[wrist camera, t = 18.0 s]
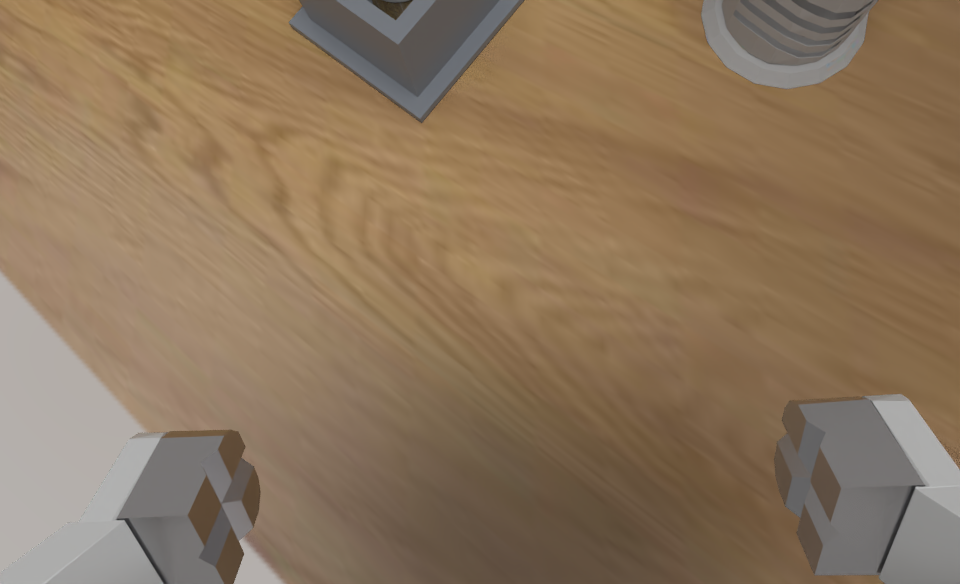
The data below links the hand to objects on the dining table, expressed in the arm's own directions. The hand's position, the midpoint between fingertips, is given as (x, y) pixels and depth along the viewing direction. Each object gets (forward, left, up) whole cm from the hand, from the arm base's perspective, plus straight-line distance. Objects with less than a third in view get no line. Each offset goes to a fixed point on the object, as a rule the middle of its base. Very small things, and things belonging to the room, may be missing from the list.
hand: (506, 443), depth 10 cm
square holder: (-16, -22, -28) cm, 39 cm away
